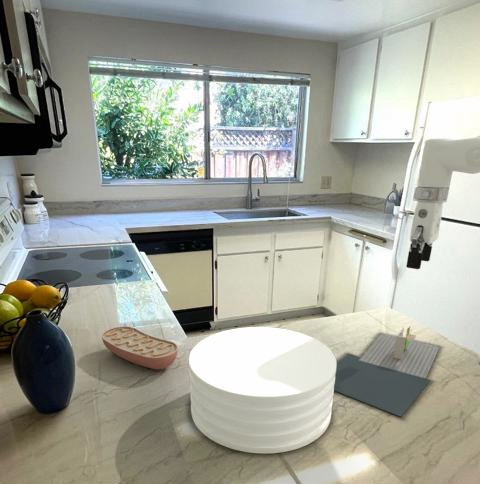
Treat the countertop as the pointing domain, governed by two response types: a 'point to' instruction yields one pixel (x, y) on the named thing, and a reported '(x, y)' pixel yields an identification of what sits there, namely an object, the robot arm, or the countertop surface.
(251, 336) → the plate stack
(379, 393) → the mat
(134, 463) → the countertop surface
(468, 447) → the countertop surface
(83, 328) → the countertop surface
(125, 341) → the mitochondrion model
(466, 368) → the countertop surface
